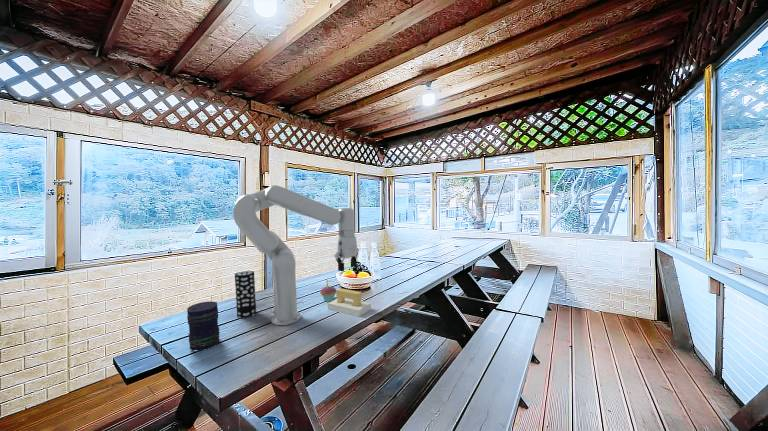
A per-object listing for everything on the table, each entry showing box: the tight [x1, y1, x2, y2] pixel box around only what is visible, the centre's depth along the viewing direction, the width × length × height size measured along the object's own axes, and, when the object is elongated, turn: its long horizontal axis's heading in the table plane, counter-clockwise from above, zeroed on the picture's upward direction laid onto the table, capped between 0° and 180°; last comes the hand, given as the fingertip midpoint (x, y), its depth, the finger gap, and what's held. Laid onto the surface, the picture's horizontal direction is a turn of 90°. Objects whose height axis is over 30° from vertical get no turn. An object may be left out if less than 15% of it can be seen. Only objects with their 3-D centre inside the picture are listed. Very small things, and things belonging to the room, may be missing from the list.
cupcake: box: [320, 279, 337, 302], centre depth 152 cm, size 9×8×12 cm
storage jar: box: [186, 301, 221, 351], centre depth 108 cm, size 10×10×15 cm
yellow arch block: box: [335, 288, 362, 307], centre depth 139 cm, size 13×3×9 cm, turn 59°
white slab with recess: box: [327, 298, 372, 317], centre depth 139 cm, size 19×10×3 cm, turn 59°
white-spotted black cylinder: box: [234, 270, 257, 319], centre depth 135 cm, size 8×8×20 cm
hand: (347, 268), depth 138 cm, fingers open, 9 cm apart
